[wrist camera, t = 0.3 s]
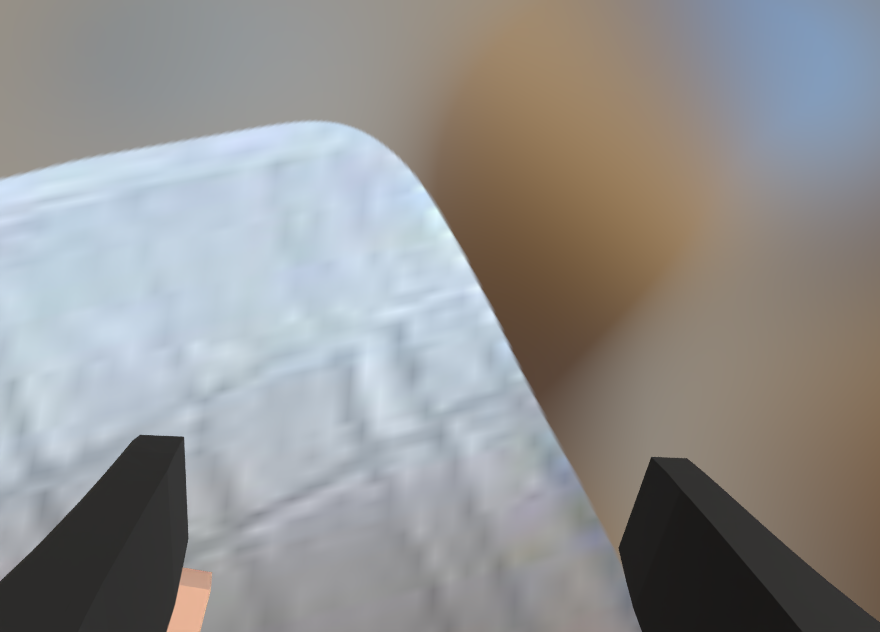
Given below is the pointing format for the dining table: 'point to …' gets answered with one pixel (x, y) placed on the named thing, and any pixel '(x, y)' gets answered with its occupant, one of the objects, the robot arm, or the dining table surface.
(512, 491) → the dining table surface
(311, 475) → the dining table surface
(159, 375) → the dining table surface
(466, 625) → the dining table surface
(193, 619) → the pink block
